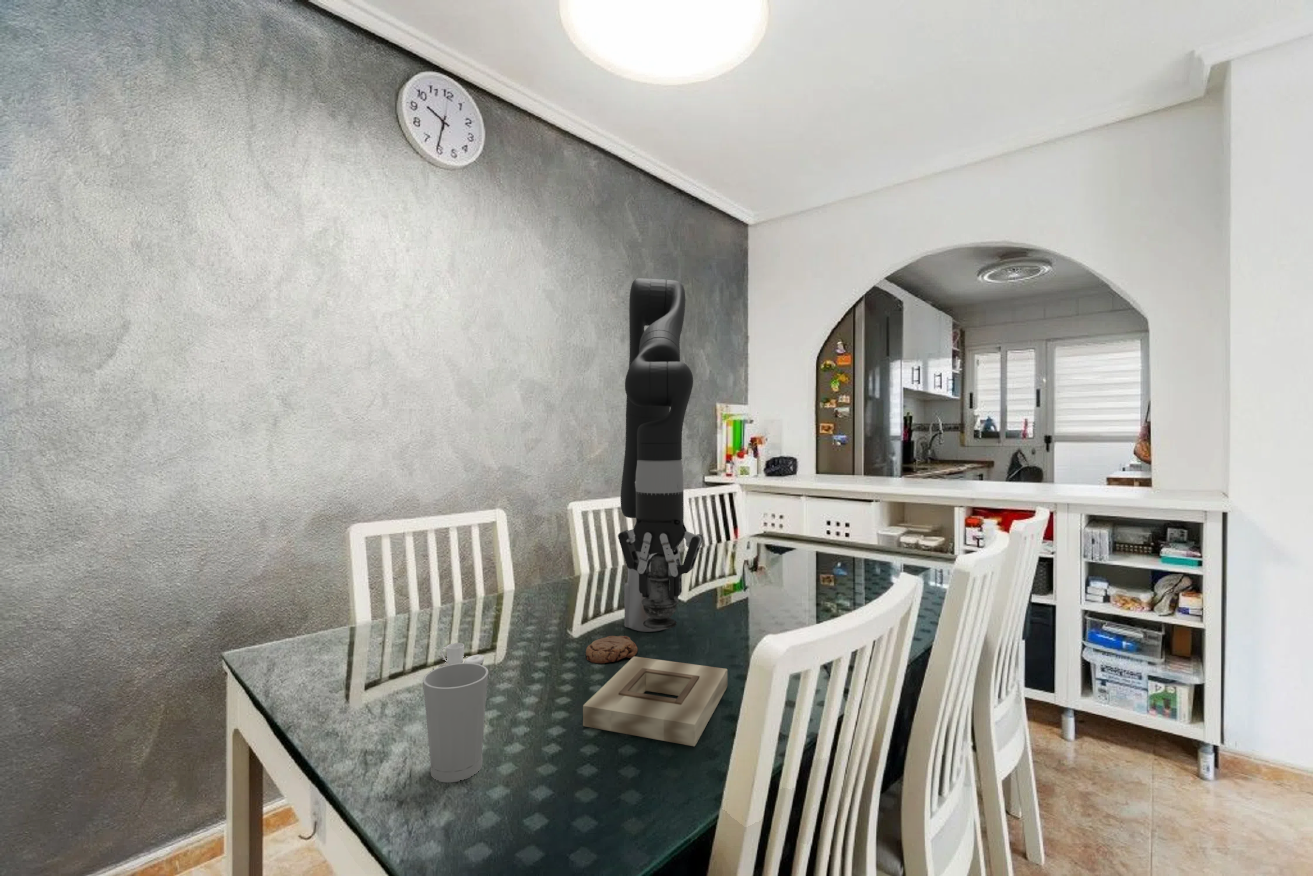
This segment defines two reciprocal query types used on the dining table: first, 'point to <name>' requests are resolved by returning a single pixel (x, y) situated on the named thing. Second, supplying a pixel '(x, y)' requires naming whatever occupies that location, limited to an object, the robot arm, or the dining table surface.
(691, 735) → the birch frame
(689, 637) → the dining table surface
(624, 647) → the cookie
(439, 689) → the cup
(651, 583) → the dark grey tall piece
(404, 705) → the dining table surface
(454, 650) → the teacup and saucer
